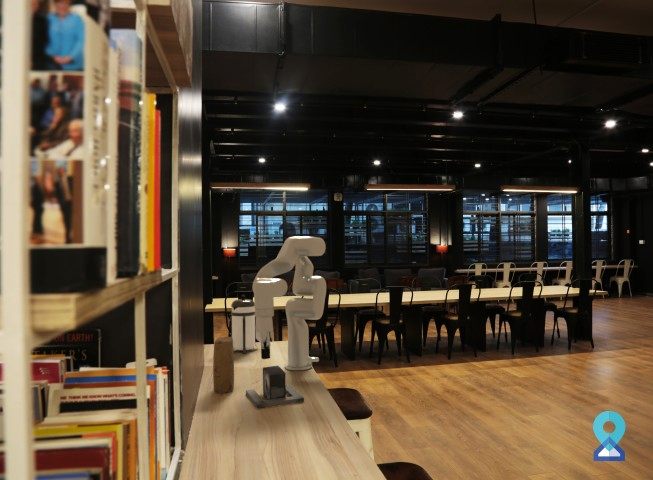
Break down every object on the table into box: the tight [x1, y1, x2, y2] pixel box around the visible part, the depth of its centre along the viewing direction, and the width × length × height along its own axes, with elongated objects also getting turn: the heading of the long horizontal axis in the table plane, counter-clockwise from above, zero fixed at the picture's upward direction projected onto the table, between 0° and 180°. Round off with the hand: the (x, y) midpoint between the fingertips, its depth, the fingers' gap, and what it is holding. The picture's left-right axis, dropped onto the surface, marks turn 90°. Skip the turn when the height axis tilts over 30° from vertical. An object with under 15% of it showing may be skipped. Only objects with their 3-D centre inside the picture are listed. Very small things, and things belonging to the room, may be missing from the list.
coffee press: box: [230, 294, 259, 355], centre depth 242 cm, size 17×16×30 cm
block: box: [212, 336, 235, 394], centre depth 174 cm, size 11×8×20 cm
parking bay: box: [245, 384, 305, 410], centre depth 164 cm, size 17×17×2 cm
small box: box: [262, 365, 287, 400], centre depth 164 cm, size 11×6×10 cm, turn 22°
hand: (265, 358), depth 177 cm, fingers closed
